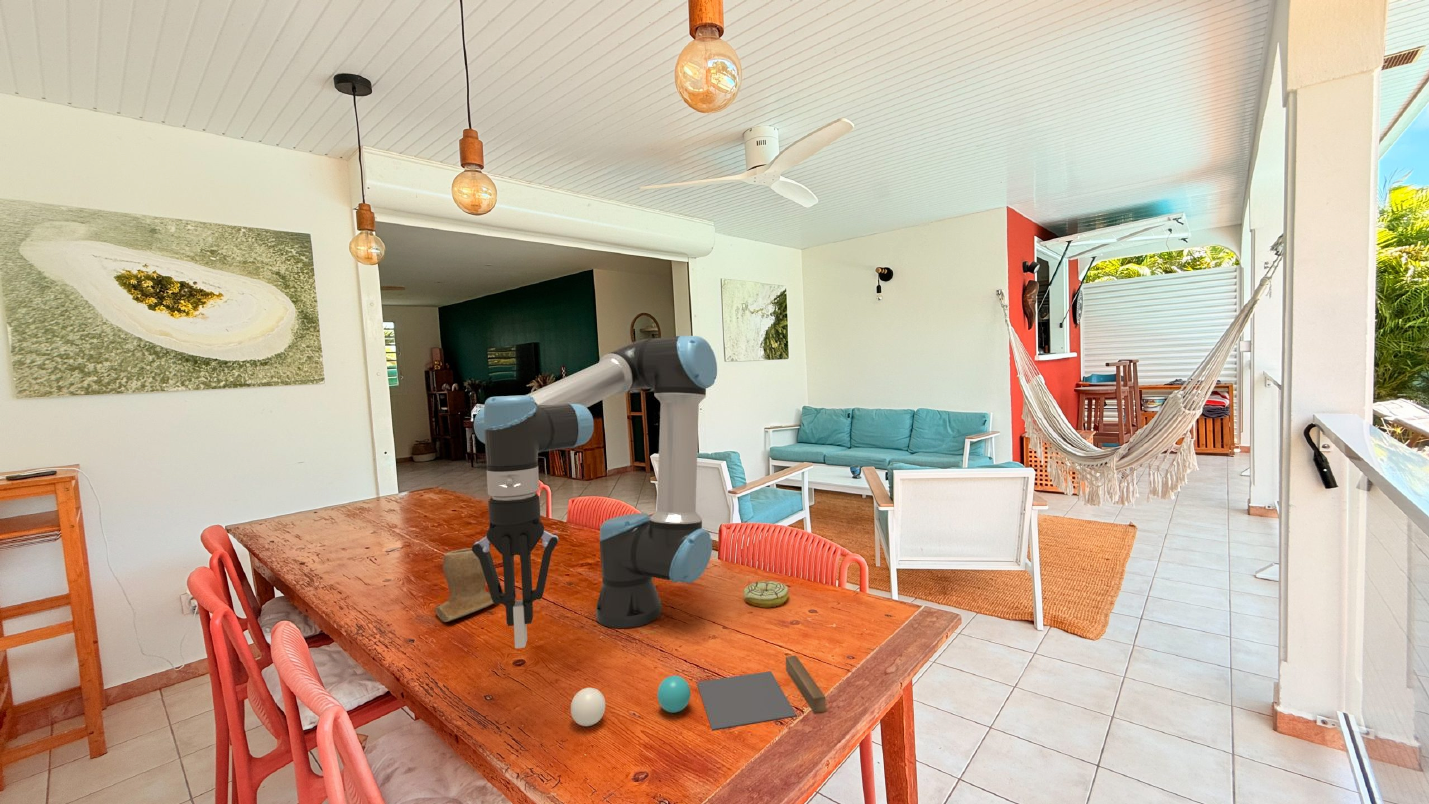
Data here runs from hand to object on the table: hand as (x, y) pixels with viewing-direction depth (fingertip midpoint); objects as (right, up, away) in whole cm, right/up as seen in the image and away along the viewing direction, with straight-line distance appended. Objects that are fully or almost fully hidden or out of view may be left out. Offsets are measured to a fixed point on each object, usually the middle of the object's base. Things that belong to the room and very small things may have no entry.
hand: (521, 643), depth 89 cm
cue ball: (+10, -11, +3) cm, 15 cm away
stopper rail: (+46, -12, +10) cm, 49 cm away
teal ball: (+24, -11, +6) cm, 27 cm away
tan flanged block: (-31, -13, +50) cm, 60 cm away
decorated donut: (+43, -11, +50) cm, 67 cm away
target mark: (+35, -13, +8) cm, 39 cm away
